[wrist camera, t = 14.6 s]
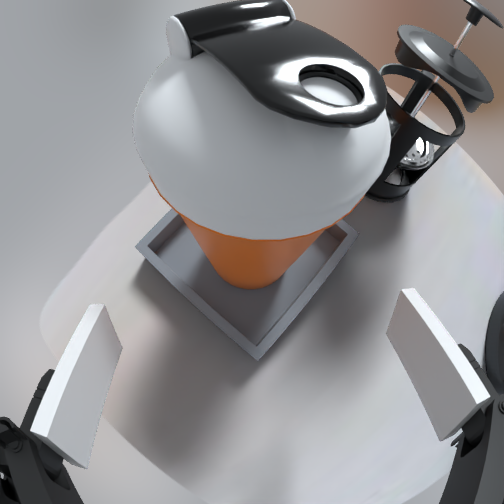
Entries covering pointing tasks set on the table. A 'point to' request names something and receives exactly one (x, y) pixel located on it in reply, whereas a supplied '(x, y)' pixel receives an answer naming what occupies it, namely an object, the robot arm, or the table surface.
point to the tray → (237, 299)
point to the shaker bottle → (260, 134)
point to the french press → (403, 117)
